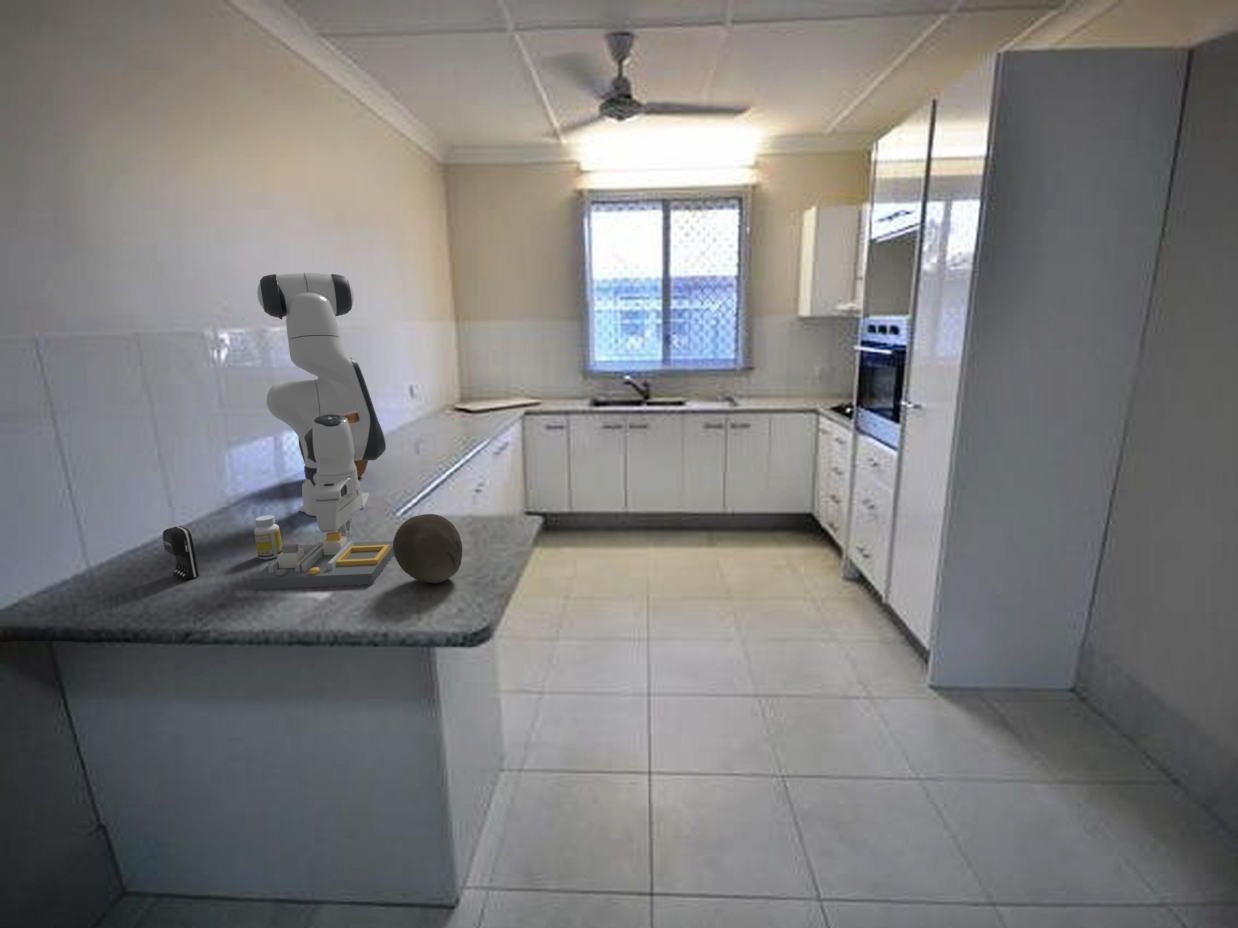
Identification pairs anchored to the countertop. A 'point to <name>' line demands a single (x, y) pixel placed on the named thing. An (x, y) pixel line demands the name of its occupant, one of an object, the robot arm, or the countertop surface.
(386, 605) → the countertop surface
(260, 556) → the supplement bottle
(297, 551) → the breaker
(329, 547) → the breaker
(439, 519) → the dark brown ball
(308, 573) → the breaker panel
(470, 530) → the countertop surface
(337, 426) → the robot arm
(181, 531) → the black electronic device
